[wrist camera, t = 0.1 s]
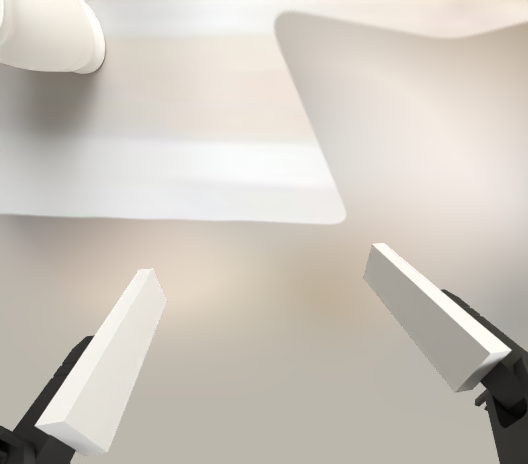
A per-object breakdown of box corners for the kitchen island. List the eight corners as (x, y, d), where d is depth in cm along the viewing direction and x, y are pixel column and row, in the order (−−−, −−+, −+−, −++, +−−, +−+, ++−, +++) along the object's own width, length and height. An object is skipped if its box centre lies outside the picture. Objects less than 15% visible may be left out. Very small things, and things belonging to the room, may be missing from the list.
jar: (129, 79, 28) (36, 45, 15) (53, 87, 28) (-108, 57, 15) (89, -34, 23) (-104, -234, 10) (-5, -27, 22) (-337, -229, 10)
